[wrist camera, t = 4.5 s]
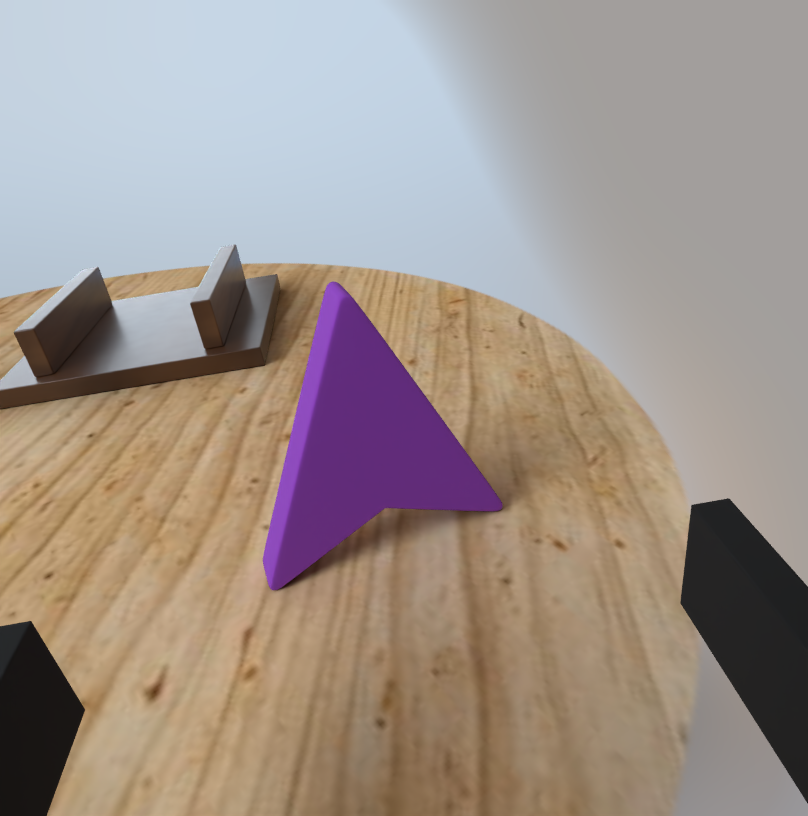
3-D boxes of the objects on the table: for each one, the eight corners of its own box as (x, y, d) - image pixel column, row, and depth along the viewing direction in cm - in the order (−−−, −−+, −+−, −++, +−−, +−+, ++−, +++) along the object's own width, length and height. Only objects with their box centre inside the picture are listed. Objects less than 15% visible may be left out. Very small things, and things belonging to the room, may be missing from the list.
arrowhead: (409, 633, 25) (169, 561, 20) (395, 604, 27) (167, 530, 21) (563, 429, 23) (344, 292, 18) (540, 410, 25) (330, 277, 20)
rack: (280, 288, 51) (267, 235, 48) (265, 365, 38) (247, 298, 36) (77, 321, 50) (56, 269, 48) (-3, 409, 38) (-37, 345, 36)
